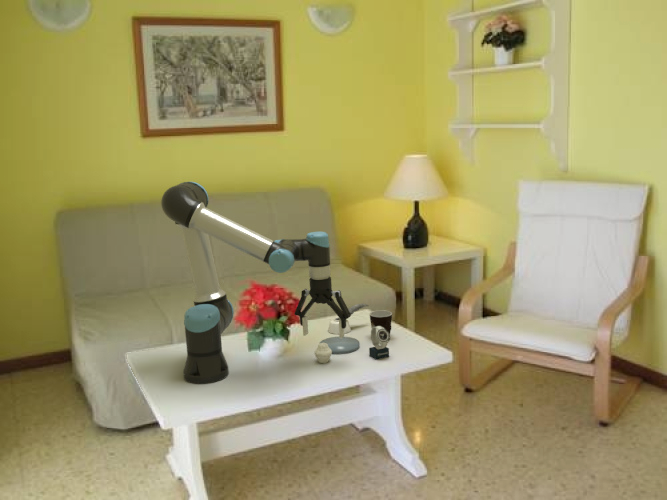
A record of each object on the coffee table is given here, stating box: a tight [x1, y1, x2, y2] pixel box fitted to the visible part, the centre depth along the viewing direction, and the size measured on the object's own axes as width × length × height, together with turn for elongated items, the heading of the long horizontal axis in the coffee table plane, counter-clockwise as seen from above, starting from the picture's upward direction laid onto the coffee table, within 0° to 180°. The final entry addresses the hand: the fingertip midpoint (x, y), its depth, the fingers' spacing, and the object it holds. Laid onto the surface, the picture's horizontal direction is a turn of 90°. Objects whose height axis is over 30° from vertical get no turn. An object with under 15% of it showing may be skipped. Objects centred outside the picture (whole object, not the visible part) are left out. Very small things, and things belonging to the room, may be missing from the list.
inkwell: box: [327, 303, 369, 335], centre depth 279 cm, size 9×18×10 cm, turn 116°
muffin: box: [314, 342, 333, 364], centre depth 245 cm, size 6×6×7 cm
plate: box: [318, 336, 361, 355], centre depth 259 cm, size 15×15×2 cm
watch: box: [368, 326, 391, 361], centre depth 247 cm, size 6×8×11 cm
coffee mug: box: [369, 309, 393, 341], centre depth 264 cm, size 12×9×10 cm
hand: (323, 335), depth 244 cm, fingers open, 13 cm apart
